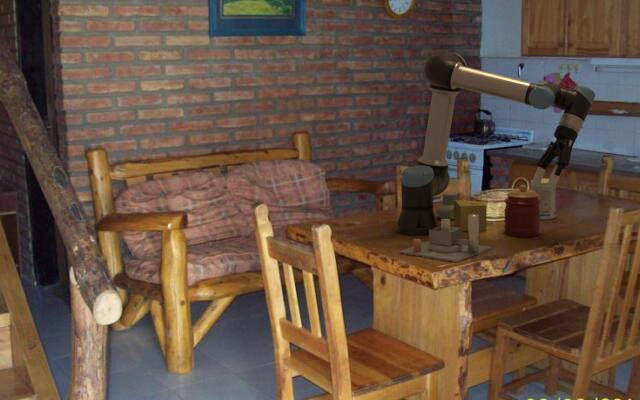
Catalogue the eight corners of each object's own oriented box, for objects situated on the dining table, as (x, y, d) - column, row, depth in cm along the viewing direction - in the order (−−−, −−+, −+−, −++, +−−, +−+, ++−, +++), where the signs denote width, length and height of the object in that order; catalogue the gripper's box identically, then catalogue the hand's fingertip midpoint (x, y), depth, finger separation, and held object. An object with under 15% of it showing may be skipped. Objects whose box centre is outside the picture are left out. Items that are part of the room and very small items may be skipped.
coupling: (429, 248, 292) (429, 213, 290) (440, 243, 299) (440, 209, 297) (473, 254, 284) (473, 217, 281) (483, 249, 290) (483, 213, 288)
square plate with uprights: (399, 253, 292) (399, 221, 290) (435, 240, 309) (435, 210, 307) (456, 263, 278) (457, 229, 276) (491, 249, 295) (491, 217, 293)
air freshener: (453, 215, 352) (453, 190, 351) (467, 218, 346) (467, 193, 344) (432, 218, 347) (432, 193, 345) (446, 221, 340) (446, 196, 338)
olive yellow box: (481, 225, 332) (481, 199, 331) (487, 231, 322) (487, 204, 320) (453, 226, 332) (453, 200, 330) (458, 232, 322) (459, 205, 320)
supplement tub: (540, 214, 350) (541, 177, 348) (560, 217, 343) (561, 180, 340) (525, 217, 344) (525, 180, 342) (545, 221, 337) (546, 183, 334)
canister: (527, 227, 326) (528, 180, 323) (548, 234, 314) (549, 186, 311) (496, 231, 322) (497, 183, 318) (516, 238, 310) (517, 189, 307)
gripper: (594, 131, 291) (568, 189, 290) (561, 136, 316) (537, 190, 314) (575, 121, 290) (549, 178, 289) (543, 127, 315) (519, 180, 313)
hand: (542, 184), depth 301 cm, fingers open, 13 cm apart
